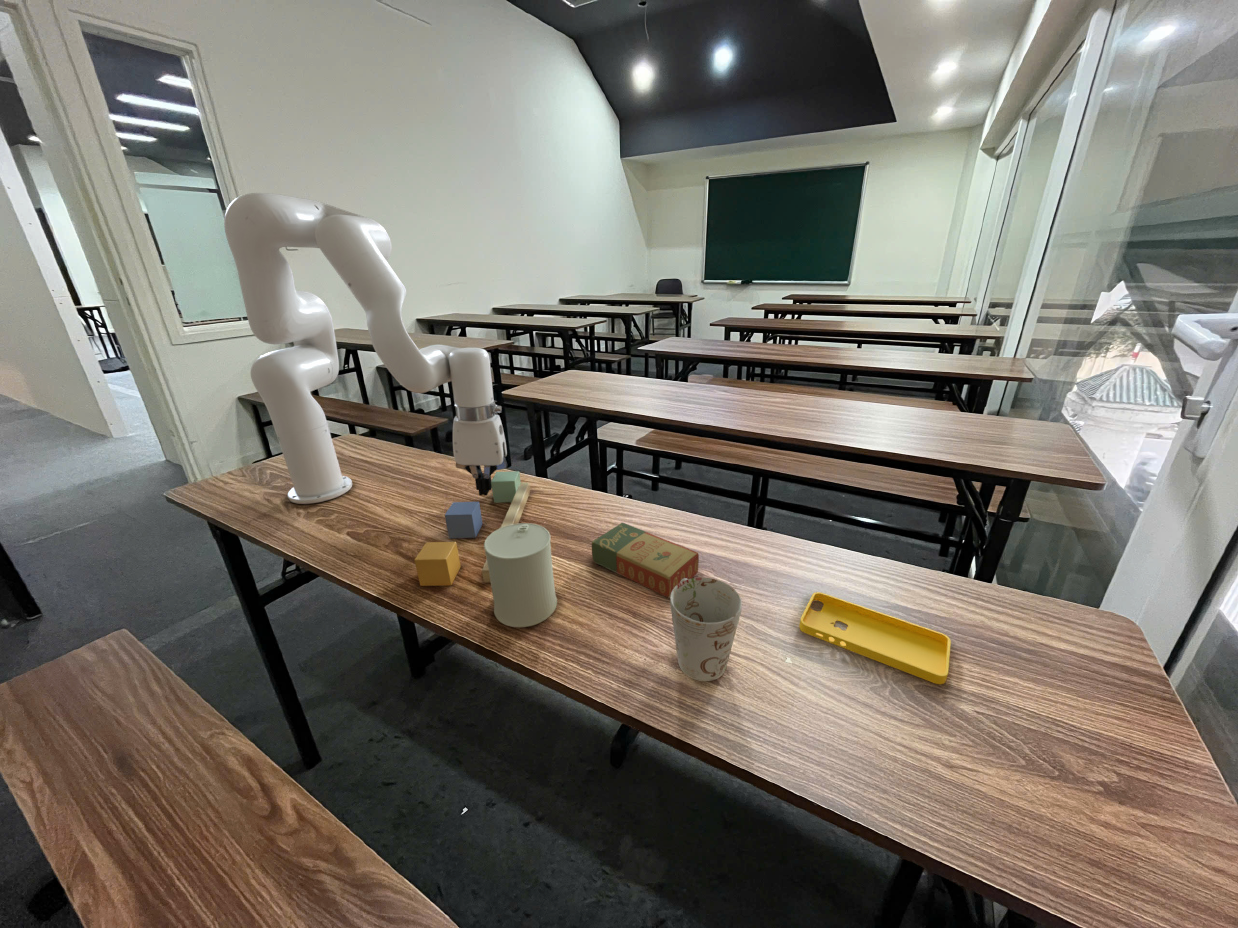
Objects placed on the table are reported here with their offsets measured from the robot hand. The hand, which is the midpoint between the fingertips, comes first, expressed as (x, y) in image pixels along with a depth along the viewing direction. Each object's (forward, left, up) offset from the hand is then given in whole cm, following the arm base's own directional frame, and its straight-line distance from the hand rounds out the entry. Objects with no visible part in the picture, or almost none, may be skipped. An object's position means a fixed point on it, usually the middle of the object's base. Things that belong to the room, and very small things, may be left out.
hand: (484, 492), depth 103 cm
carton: (+39, +18, -1) cm, 43 cm away
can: (+39, -2, -1) cm, 39 cm away
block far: (+2, +4, -1) cm, 5 cm away
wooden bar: (+16, +1, -1) cm, 16 cm away
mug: (+58, +15, -1) cm, 60 cm away
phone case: (+67, +37, -1) cm, 76 cm away
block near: (+25, -13, -1) cm, 28 cm away
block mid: (+12, -6, -1) cm, 14 cm away
